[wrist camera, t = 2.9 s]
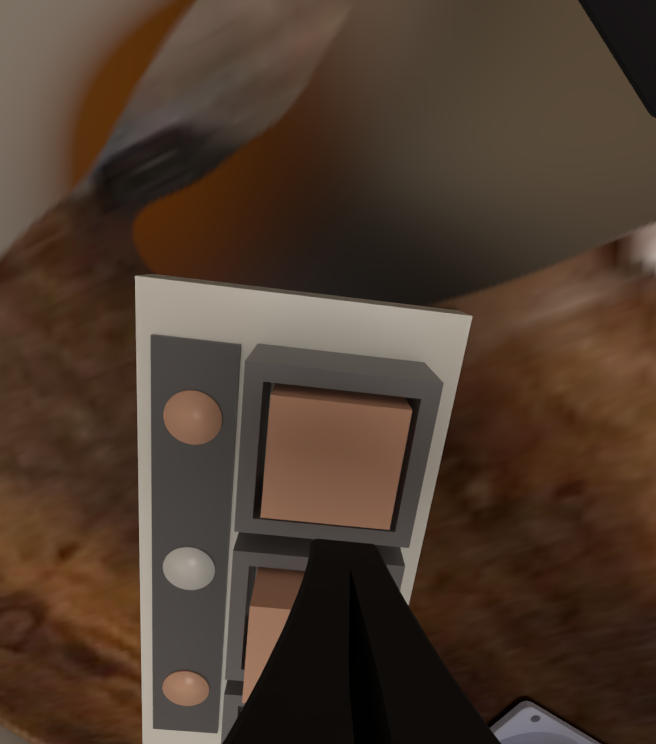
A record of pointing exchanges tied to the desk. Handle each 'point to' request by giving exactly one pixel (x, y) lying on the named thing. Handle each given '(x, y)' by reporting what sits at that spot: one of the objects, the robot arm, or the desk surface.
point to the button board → (257, 465)
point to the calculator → (629, 41)
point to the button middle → (267, 618)
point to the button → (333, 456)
